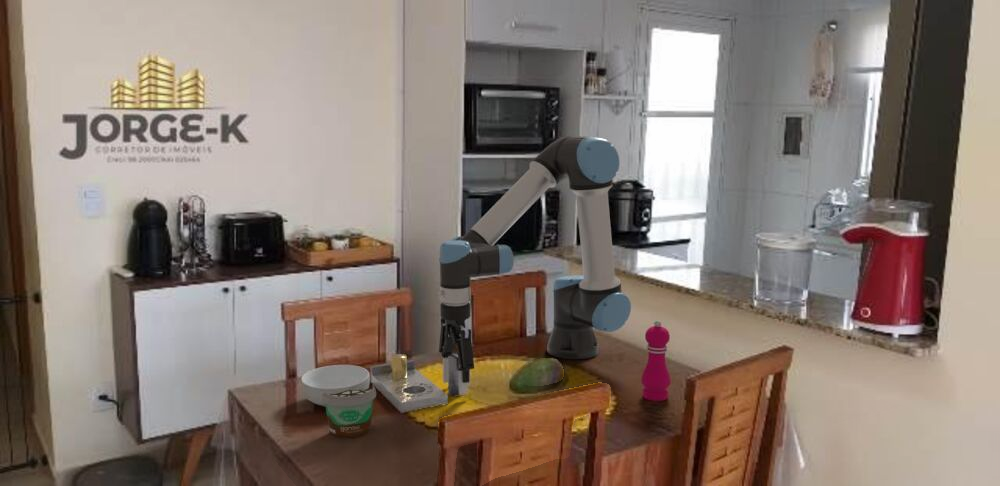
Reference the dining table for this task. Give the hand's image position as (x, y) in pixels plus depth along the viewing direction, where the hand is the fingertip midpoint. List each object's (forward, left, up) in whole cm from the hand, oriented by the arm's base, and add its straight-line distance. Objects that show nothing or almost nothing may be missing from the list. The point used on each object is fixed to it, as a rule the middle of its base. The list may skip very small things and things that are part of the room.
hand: (456, 387), depth 204 cm
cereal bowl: (+29, -8, -2) cm, 30 cm away
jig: (+11, -6, -2) cm, 13 cm away
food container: (+31, +13, -2) cm, 34 cm away
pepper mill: (-44, +25, -2) cm, 51 cm away
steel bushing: (0, 0, -2) cm, 2 cm away
